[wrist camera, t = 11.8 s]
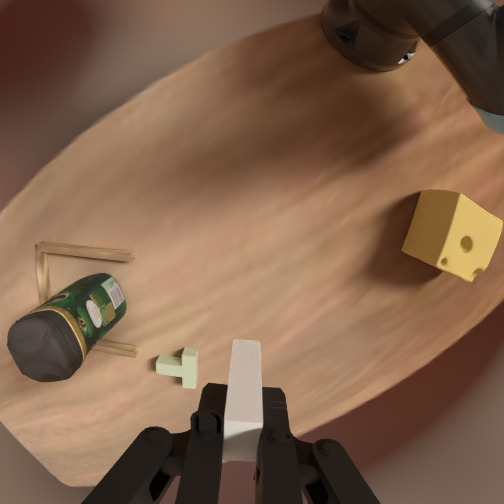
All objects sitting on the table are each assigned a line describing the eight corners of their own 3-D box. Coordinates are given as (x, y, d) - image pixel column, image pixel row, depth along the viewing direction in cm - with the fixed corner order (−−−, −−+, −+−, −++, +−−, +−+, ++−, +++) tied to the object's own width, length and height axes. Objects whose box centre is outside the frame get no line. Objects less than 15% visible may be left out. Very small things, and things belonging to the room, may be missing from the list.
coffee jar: (87, 328, 42) (24, 391, 24) (67, 282, 40) (-9, 331, 22) (135, 315, 42) (79, 387, 23) (115, 265, 40) (41, 315, 22)
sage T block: (159, 343, 43) (155, 351, 40) (197, 348, 43) (195, 356, 41) (161, 375, 44) (157, 383, 42) (197, 380, 44) (195, 389, 42)
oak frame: (42, 242, 39) (35, 244, 37) (134, 251, 40) (129, 254, 38) (52, 333, 42) (46, 338, 40) (138, 351, 43) (134, 357, 41)
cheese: (443, 272, 41) (481, 291, 32) (395, 250, 41) (432, 267, 31) (464, 213, 40) (505, 221, 30) (418, 185, 39) (459, 186, 29)
